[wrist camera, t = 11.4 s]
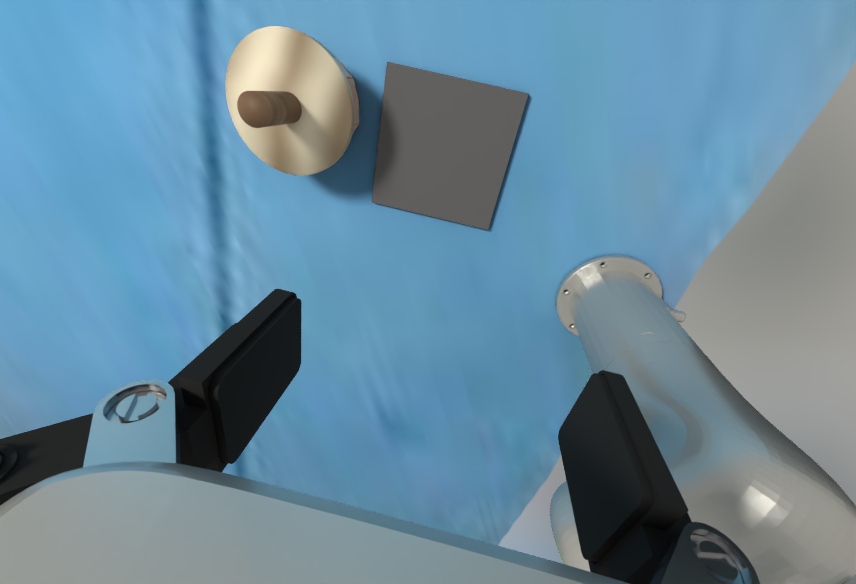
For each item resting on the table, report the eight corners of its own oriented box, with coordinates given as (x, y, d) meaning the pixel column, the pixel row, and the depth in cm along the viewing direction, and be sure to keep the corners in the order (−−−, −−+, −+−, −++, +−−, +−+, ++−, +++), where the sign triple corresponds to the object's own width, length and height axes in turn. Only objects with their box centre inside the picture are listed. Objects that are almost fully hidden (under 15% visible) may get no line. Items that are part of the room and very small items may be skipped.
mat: (528, 93, 36) (528, 93, 36) (487, 228, 44) (487, 229, 43) (388, 62, 36) (387, 61, 36) (372, 200, 44) (371, 202, 44)
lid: (363, 49, 32) (334, 38, 26) (346, 187, 39) (320, 204, 33) (228, 10, 32) (168, -9, 26) (235, 155, 39) (188, 166, 33)
